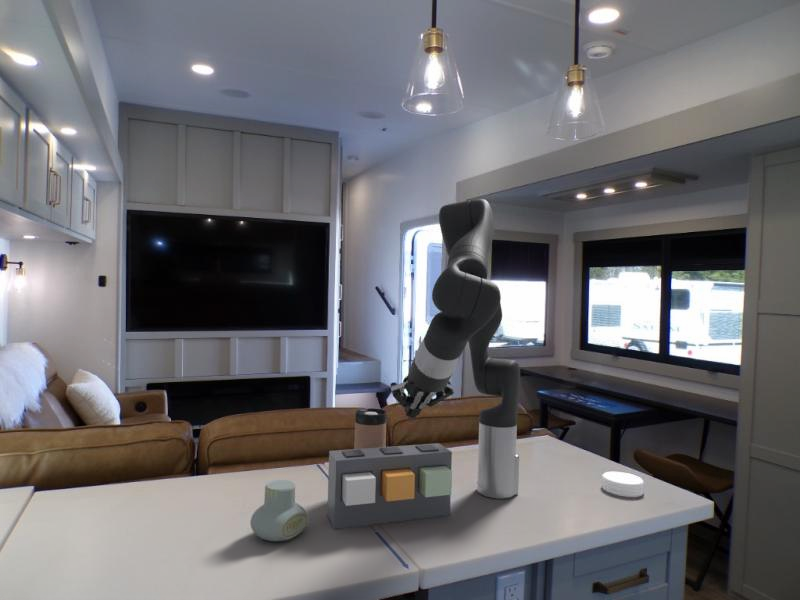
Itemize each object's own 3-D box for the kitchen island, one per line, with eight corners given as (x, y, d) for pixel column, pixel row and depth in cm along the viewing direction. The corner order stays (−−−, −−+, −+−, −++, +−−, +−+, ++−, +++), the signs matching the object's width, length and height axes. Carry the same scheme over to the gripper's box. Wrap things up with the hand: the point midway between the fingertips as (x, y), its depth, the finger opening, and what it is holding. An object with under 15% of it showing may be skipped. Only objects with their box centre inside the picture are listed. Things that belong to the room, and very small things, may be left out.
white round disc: (601, 494, 130) (601, 480, 130) (601, 481, 139) (602, 468, 139) (644, 501, 126) (645, 486, 126) (642, 487, 135) (642, 474, 135)
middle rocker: (402, 486, 113) (403, 464, 113) (414, 498, 107) (414, 474, 107) (376, 489, 111) (377, 466, 111) (386, 501, 105) (387, 477, 105)
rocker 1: (365, 490, 111) (366, 467, 111) (375, 502, 104) (375, 478, 104) (338, 492, 109) (339, 469, 109) (346, 505, 102) (346, 480, 102)
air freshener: (273, 552, 95) (275, 498, 95) (242, 540, 99) (244, 488, 99) (313, 530, 104) (314, 481, 104) (283, 520, 108) (284, 473, 108)
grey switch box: (437, 503, 120) (439, 441, 120) (449, 515, 113) (451, 450, 113) (327, 515, 111) (329, 449, 111) (334, 529, 105) (336, 459, 105)
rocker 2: (438, 483, 116) (438, 461, 116) (451, 494, 110) (452, 471, 110) (413, 485, 114) (414, 463, 114) (425, 497, 108) (426, 473, 108)
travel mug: (380, 501, 120) (382, 416, 120) (348, 498, 121) (351, 413, 121) (387, 489, 127) (389, 409, 127) (357, 486, 129) (360, 407, 129)
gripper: (463, 345, 97) (436, 397, 108) (396, 344, 93) (375, 399, 104) (475, 377, 92) (445, 429, 103) (404, 378, 88) (382, 432, 99)
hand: (410, 414), depth 104 cm, fingers closed
